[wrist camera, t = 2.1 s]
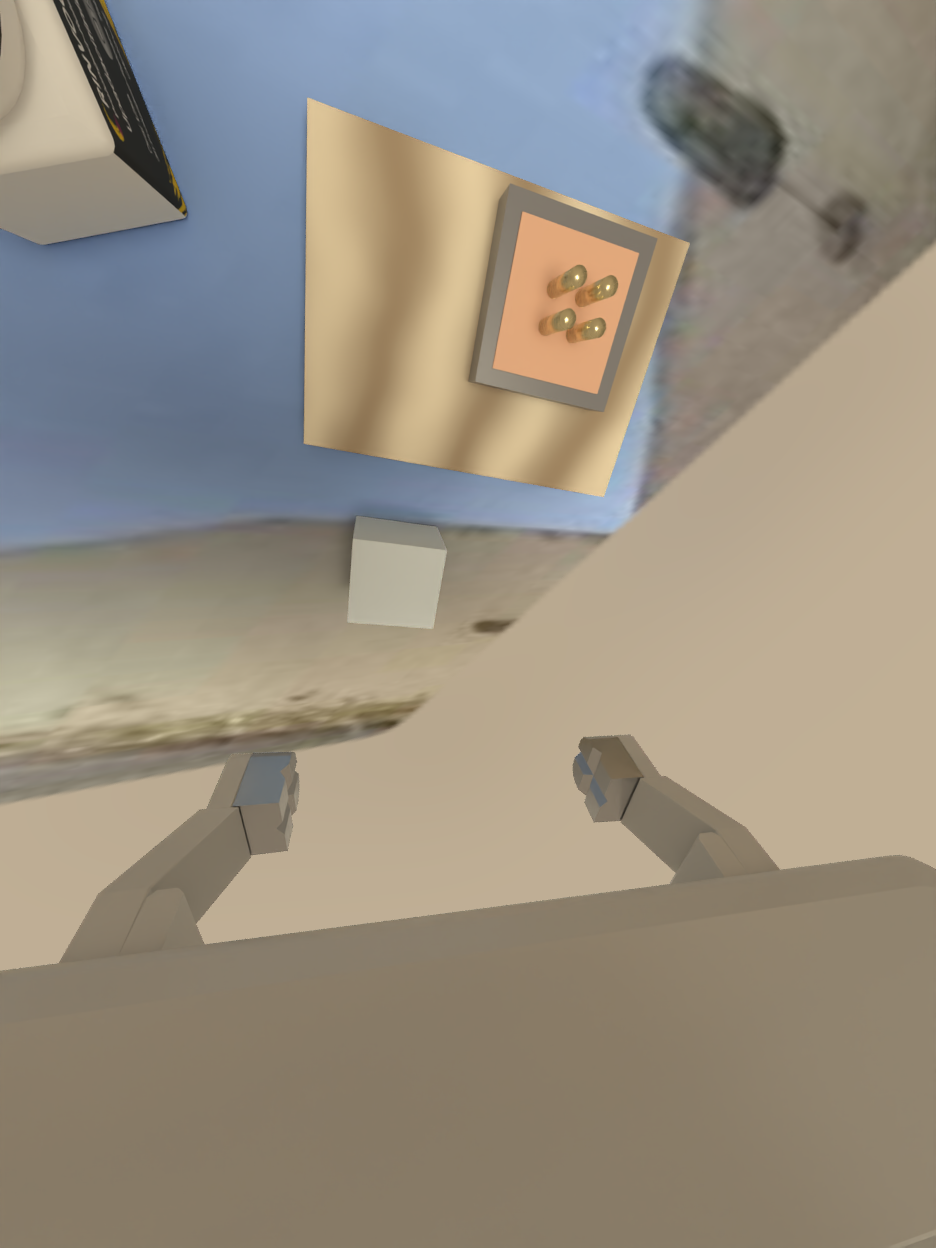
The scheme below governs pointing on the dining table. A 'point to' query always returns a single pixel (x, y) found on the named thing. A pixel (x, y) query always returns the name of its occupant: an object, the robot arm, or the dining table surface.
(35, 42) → the medicine bottle
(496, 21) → the dining table surface
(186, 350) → the dining table surface
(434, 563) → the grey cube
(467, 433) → the board
